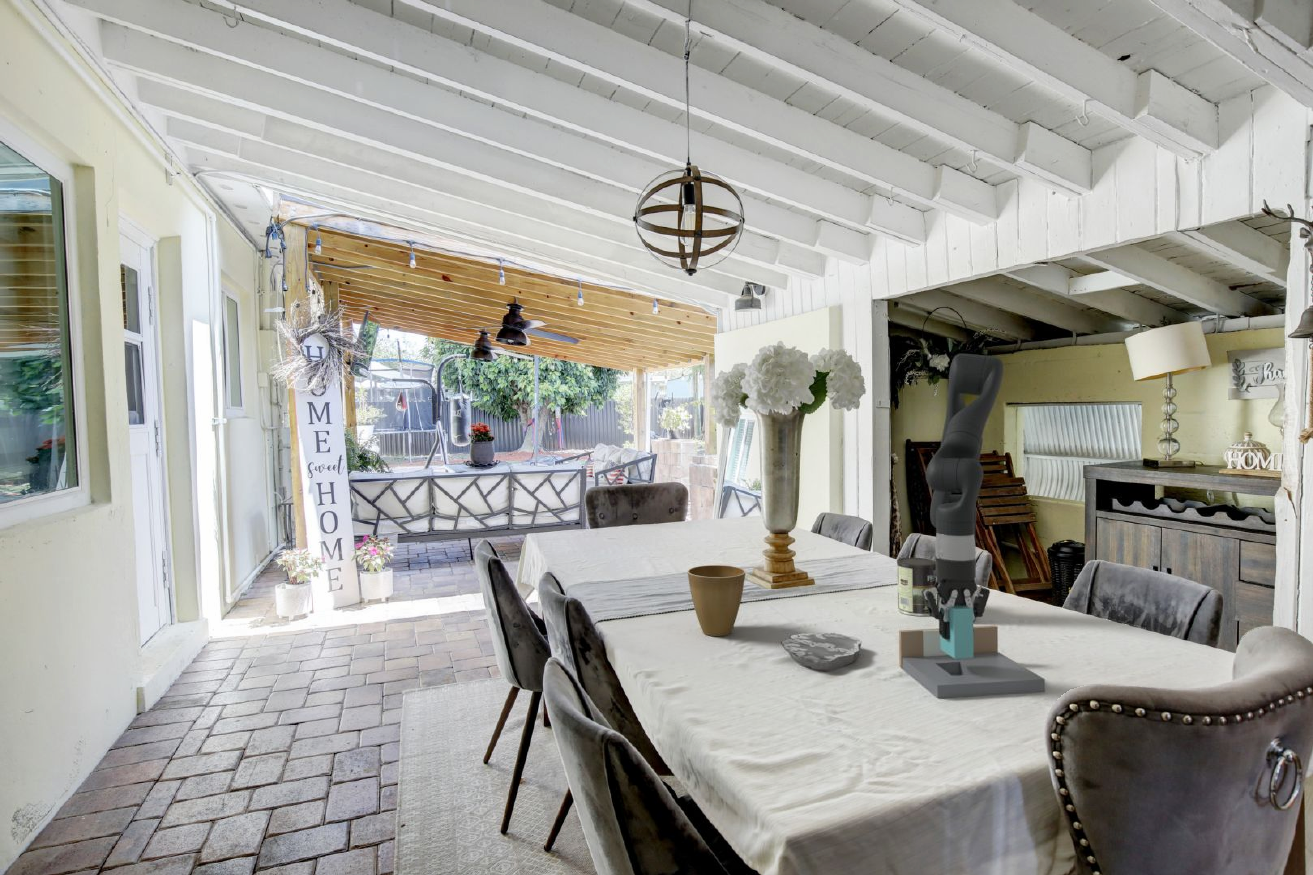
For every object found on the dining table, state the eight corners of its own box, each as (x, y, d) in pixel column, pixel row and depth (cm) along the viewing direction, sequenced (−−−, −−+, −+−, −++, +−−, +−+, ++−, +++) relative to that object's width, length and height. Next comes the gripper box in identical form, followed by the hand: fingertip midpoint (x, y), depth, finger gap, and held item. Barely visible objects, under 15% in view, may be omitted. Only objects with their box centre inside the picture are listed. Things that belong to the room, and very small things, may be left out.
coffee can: (941, 609, 187) (940, 559, 186) (931, 618, 179) (930, 566, 178) (903, 603, 193) (903, 555, 193) (892, 612, 185) (891, 562, 184)
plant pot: (744, 642, 163) (743, 578, 163) (684, 640, 166) (683, 576, 166) (748, 624, 178) (747, 564, 177) (693, 621, 181) (692, 563, 180)
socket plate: (899, 666, 146) (898, 630, 145) (995, 661, 147) (994, 625, 147) (937, 698, 129) (937, 657, 129) (1044, 691, 131) (1044, 651, 131)
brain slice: (805, 639, 166) (805, 627, 166) (872, 653, 155) (872, 640, 155) (765, 662, 151) (765, 649, 151) (836, 680, 140) (836, 666, 140)
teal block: (940, 649, 140) (940, 602, 139) (958, 648, 140) (958, 601, 140) (954, 658, 134) (954, 609, 134) (973, 657, 134) (973, 608, 134)
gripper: (977, 550, 141) (978, 630, 141) (913, 552, 140) (914, 633, 140) (999, 557, 133) (999, 642, 134) (931, 560, 132) (932, 645, 133)
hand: (956, 637), depth 137 cm, fingers closed on teal block, 4 cm apart
